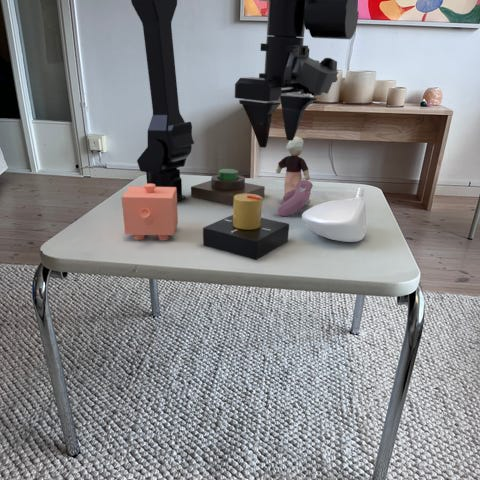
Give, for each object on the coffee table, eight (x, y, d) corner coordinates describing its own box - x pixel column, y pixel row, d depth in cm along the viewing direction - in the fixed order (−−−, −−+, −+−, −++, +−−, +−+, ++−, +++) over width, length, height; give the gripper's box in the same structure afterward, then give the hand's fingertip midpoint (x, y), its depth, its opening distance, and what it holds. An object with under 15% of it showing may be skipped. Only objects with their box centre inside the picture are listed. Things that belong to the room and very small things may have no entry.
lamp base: (191, 197, 100) (190, 177, 98) (218, 187, 107) (218, 169, 105) (238, 207, 94) (239, 187, 92) (264, 196, 102) (265, 177, 100)
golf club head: (391, 186, 79) (346, 164, 72) (381, 249, 80) (336, 234, 72) (341, 192, 87) (296, 173, 80) (332, 250, 88) (287, 236, 80)
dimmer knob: (227, 226, 75) (228, 195, 73) (242, 219, 78) (243, 190, 76) (251, 231, 73) (252, 200, 71) (265, 224, 76) (267, 194, 74)
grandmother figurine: (311, 202, 98) (318, 137, 91) (305, 207, 95) (311, 140, 88) (277, 197, 101) (281, 133, 94) (269, 201, 98) (273, 136, 91)
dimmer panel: (203, 245, 76) (202, 226, 74) (237, 229, 83) (237, 211, 82) (256, 260, 71) (257, 240, 70) (288, 241, 78) (289, 222, 77)
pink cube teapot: (121, 247, 74) (116, 195, 70) (135, 223, 84) (131, 175, 80) (172, 248, 74) (169, 196, 70) (179, 223, 85) (177, 176, 81)
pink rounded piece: (296, 226, 90) (316, 194, 86) (275, 214, 89) (294, 181, 86) (300, 211, 98) (318, 181, 95) (281, 200, 98) (299, 169, 94)
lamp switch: (214, 179, 98) (214, 171, 98) (225, 176, 101) (225, 168, 101) (230, 182, 97) (230, 174, 96) (241, 179, 100) (241, 170, 99)
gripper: (304, 36, 62) (292, 159, 70) (357, 40, 76) (342, 143, 84) (234, 33, 68) (230, 148, 75) (296, 38, 81) (287, 134, 89)
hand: (276, 143), depth 81 cm, fingers open, 9 cm apart
